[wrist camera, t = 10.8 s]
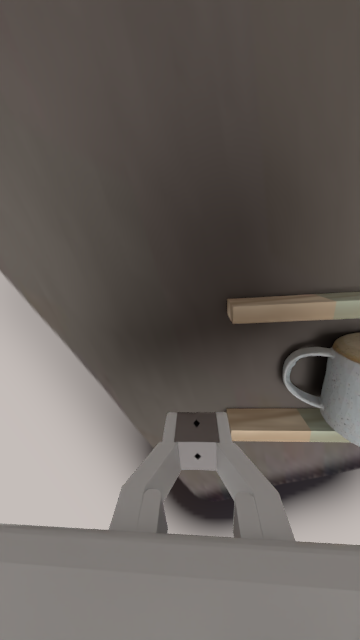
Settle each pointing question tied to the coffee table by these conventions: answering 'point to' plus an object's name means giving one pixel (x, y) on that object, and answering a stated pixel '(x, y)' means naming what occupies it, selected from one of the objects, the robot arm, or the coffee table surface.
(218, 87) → the coffee table surface
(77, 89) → the coffee table surface
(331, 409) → the ceramic mug
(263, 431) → the channel walls
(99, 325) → the coffee table surface
